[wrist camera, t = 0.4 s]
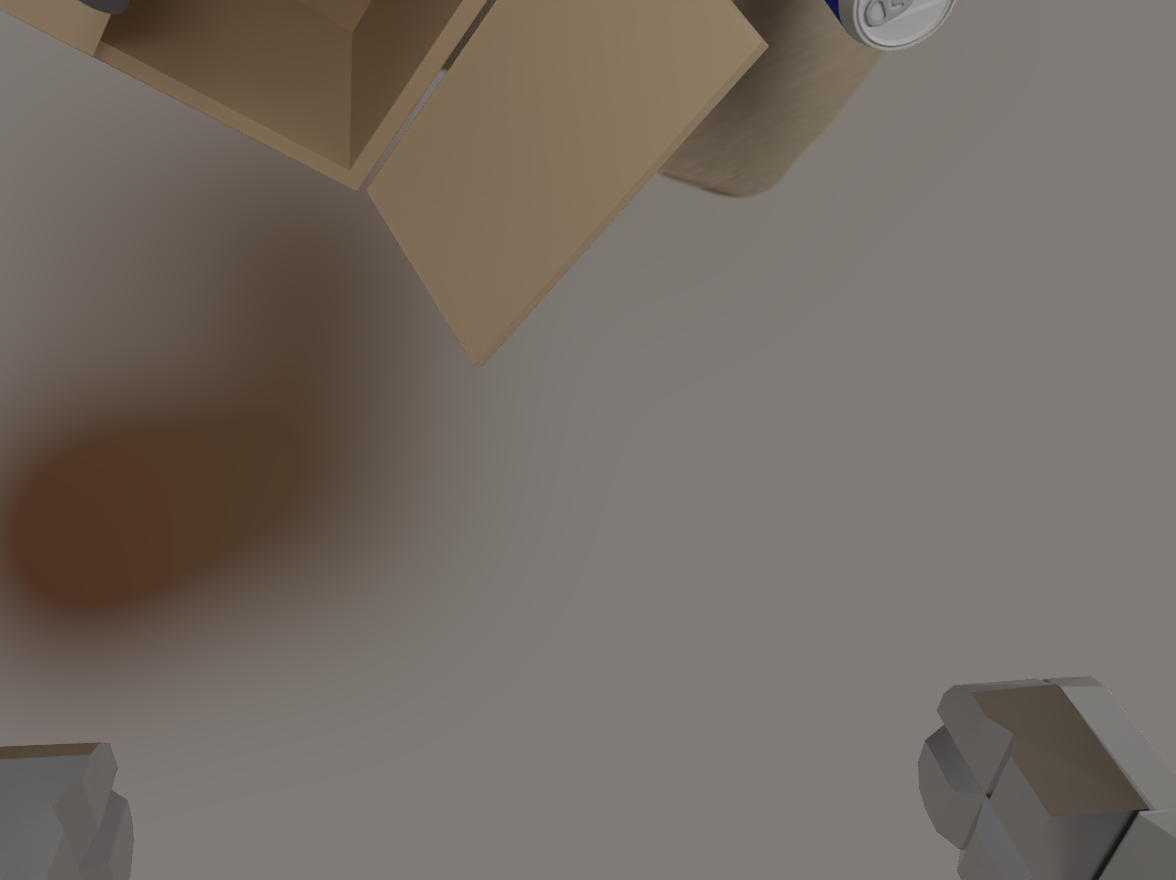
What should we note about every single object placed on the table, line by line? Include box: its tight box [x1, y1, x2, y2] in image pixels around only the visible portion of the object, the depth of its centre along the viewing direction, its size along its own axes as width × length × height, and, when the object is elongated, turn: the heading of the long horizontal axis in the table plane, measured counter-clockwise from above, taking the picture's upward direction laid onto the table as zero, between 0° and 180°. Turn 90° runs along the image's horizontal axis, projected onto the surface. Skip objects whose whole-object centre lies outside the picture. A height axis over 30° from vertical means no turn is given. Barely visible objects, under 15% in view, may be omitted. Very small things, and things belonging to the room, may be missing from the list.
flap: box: [366, 0, 769, 365], centre depth 38 cm, size 17×10×1 cm
